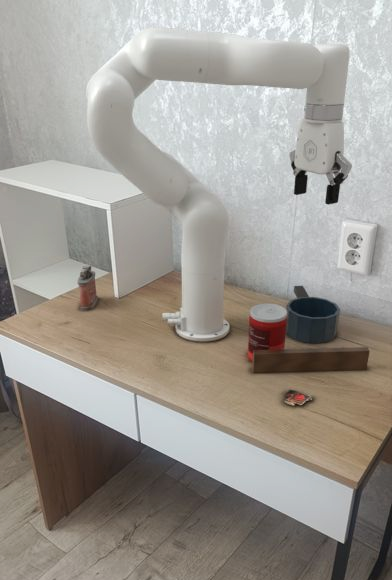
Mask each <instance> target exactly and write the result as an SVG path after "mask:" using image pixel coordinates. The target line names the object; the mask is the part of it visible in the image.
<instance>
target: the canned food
mask: <svg viewBox="0 0 392 580" xmlns="http://www.w3.org/2000/svg"><path fill="white" fill-rule="evenodd" d="M248 320H249V321H248V337H247V339H248V340H247V356H248V360H249V361H250V362H251V363H252V362H253V350H277V349H285V344H286V335H287V333H286V326H287V310H286V308H285V307H284V306H282V305H280V304H276V303H259V304H256V305H253V306H252V307H250V311H249V319H248Z"/></svg>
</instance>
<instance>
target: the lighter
mask: <svg viewBox="0 0 392 580" xmlns="http://www.w3.org/2000/svg"><path fill="white" fill-rule="evenodd" d="M96 285H97V284H96V271H94V270H92V264H85V265H83V266H82V268H81V270H80V271H79V276H78V278H77V286H78V292H79V301H80V304H79V306H80V307H79V308H80V310H81V311H84V312H85V311H86V312H87V311H90V310H91V309H93V308H95V306H96V305H97V303H98V299H99V297H98V294H97V287H96Z"/></svg>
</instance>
